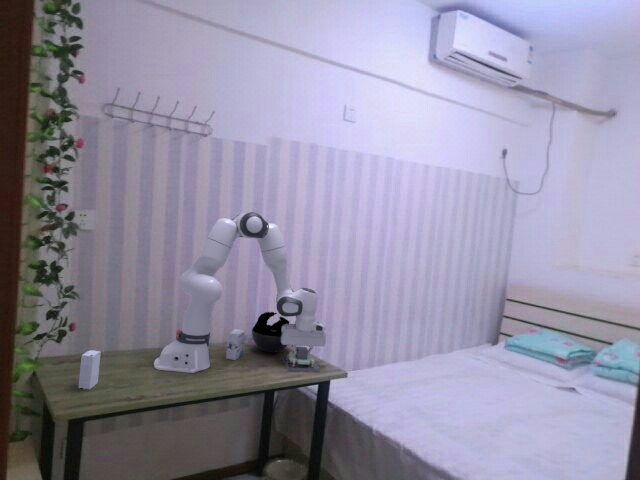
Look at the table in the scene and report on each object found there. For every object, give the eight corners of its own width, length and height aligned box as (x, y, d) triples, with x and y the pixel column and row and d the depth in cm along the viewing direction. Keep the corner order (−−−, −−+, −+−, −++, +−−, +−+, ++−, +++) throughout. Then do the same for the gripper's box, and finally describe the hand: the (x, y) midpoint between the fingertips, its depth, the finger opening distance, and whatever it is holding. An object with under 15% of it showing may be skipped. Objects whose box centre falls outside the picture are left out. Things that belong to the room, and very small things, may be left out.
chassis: (287, 371, 211) (289, 360, 210) (282, 359, 225) (283, 349, 225) (319, 372, 214) (320, 361, 214) (312, 360, 228) (313, 351, 228)
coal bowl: (248, 344, 243) (252, 306, 242) (288, 346, 247) (292, 309, 246) (250, 357, 224) (254, 316, 223) (293, 359, 228) (298, 319, 226)
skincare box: (86, 382, 175) (88, 349, 174) (98, 383, 175) (101, 350, 174) (77, 388, 169) (80, 354, 168) (90, 390, 169) (93, 356, 168)
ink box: (232, 353, 226) (235, 328, 225) (242, 355, 225) (245, 330, 224) (225, 358, 218) (227, 332, 217) (235, 360, 217) (238, 334, 216)
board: (291, 363, 212) (292, 352, 211) (286, 354, 224) (287, 343, 224) (316, 364, 214) (317, 353, 214) (309, 355, 227) (311, 344, 227)
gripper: (283, 325, 213) (279, 356, 214) (328, 327, 218) (324, 357, 219) (280, 321, 219) (277, 351, 220) (325, 323, 224) (321, 353, 225)
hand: (301, 354), depth 219 cm, fingers closed on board, 4 cm apart
